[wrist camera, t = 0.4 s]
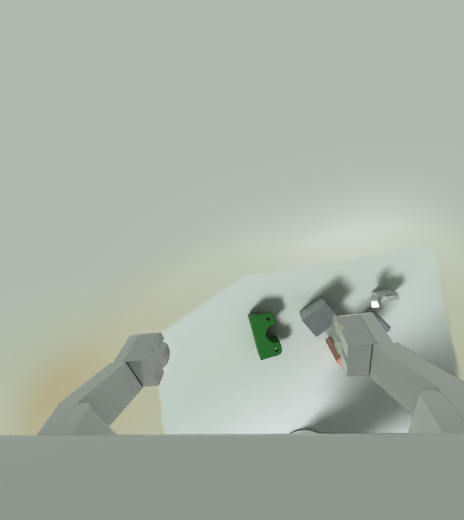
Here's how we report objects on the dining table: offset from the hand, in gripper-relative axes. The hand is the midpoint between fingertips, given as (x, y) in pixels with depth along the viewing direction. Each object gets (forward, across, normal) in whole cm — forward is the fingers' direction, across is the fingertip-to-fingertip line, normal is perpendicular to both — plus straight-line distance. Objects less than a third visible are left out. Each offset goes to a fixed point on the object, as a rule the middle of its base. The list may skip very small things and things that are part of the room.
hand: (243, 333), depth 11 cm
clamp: (+38, -3, -40) cm, 56 cm away
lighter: (+41, +26, -34) cm, 59 cm away
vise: (+37, +14, -40) cm, 57 cm away
